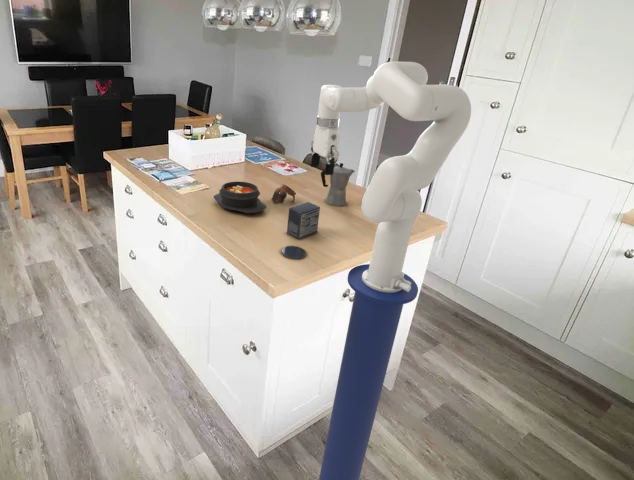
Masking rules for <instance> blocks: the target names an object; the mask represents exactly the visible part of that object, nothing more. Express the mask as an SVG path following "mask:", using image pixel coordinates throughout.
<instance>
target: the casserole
mask: <svg viewBox="0 0 634 480" xmlns="http://www.w3.org/2000/svg"><path fill="white" fill-rule="evenodd" d="M260 195H261V192H260V190H259V187H258V185H256V184H254V183H251V182H247V181H229V182H226V183H223V184H222V186H221V188H220V189H219V192H218V193H216V194H215V195H213V197H212V198H213V199H214V200H215V201H216V203H217V204H218V205H219V206H220V207H222V208H223V209H227V210H229V211H230V210H231V211H235V212H241V213H245V214H254V213H255V214H256V213H259V212H262V211H264V210H266V208H267V205H266V204H264V203H263V202H262V200H261V199H260V198H259V196H260Z"/></svg>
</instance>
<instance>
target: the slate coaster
mask: <svg viewBox="0 0 634 480" xmlns="http://www.w3.org/2000/svg"><path fill="white" fill-rule="evenodd" d="M281 254H282V255H283V256H284V257H285V258H288V259H292V260H300V259H303V258H305V256H306V251H305V249H304V248H302V247H299V246H296V245H287V246H284V247H283V248H282V249H281Z"/></svg>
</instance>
